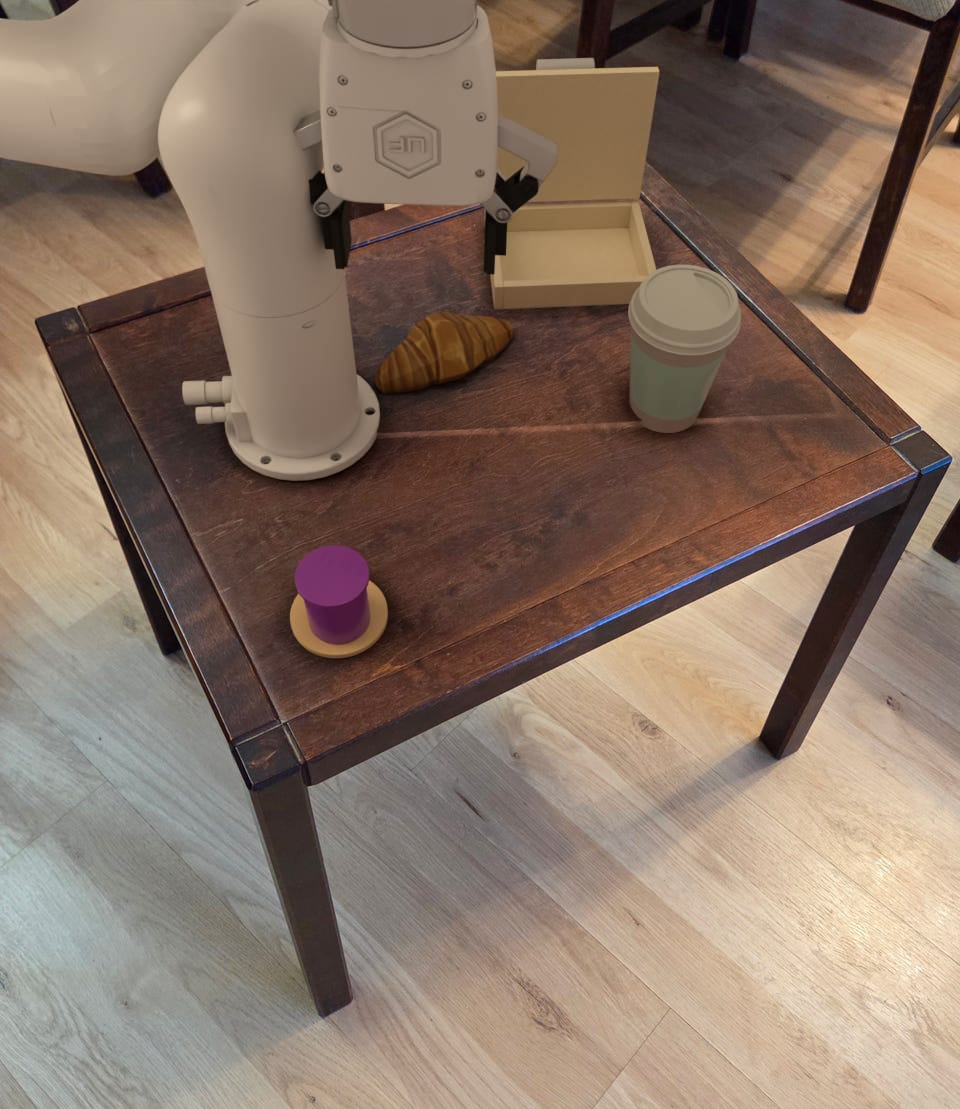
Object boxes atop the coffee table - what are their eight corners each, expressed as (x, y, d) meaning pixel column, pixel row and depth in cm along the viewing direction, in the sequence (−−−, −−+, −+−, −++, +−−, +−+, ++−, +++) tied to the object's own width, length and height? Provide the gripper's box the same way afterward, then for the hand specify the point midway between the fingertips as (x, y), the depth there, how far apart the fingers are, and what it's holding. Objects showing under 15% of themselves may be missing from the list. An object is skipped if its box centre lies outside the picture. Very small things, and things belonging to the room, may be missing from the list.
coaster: (289, 661, 74) (288, 657, 74) (292, 579, 78) (291, 575, 78) (389, 655, 74) (388, 652, 74) (387, 574, 78) (386, 570, 78)
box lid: (659, 71, 89) (648, 36, 92) (487, 76, 88) (482, 41, 92) (639, 198, 99) (630, 163, 102) (485, 203, 98) (480, 168, 102)
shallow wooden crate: (654, 309, 96) (659, 280, 93) (493, 315, 95) (494, 287, 92) (633, 229, 102) (638, 199, 100) (484, 234, 102) (484, 205, 99)
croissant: (490, 316, 95) (492, 272, 91) (532, 362, 92) (535, 317, 88) (357, 371, 91) (352, 327, 87) (396, 421, 87) (392, 377, 83)
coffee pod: (303, 650, 74) (293, 608, 69) (305, 591, 77) (295, 546, 72) (375, 646, 74) (369, 603, 70) (374, 587, 77) (368, 543, 73)
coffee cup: (711, 453, 86) (742, 343, 76) (606, 437, 87) (624, 326, 77) (718, 380, 91) (749, 267, 81) (619, 365, 92) (638, 252, 82)
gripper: (229, 26, 53) (277, 291, 67) (571, 37, 53) (548, 301, 67) (253, -46, 58) (293, 218, 72) (569, -35, 58) (548, 227, 71)
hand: (416, 258), depth 69 cm, fingers open, 9 cm apart
